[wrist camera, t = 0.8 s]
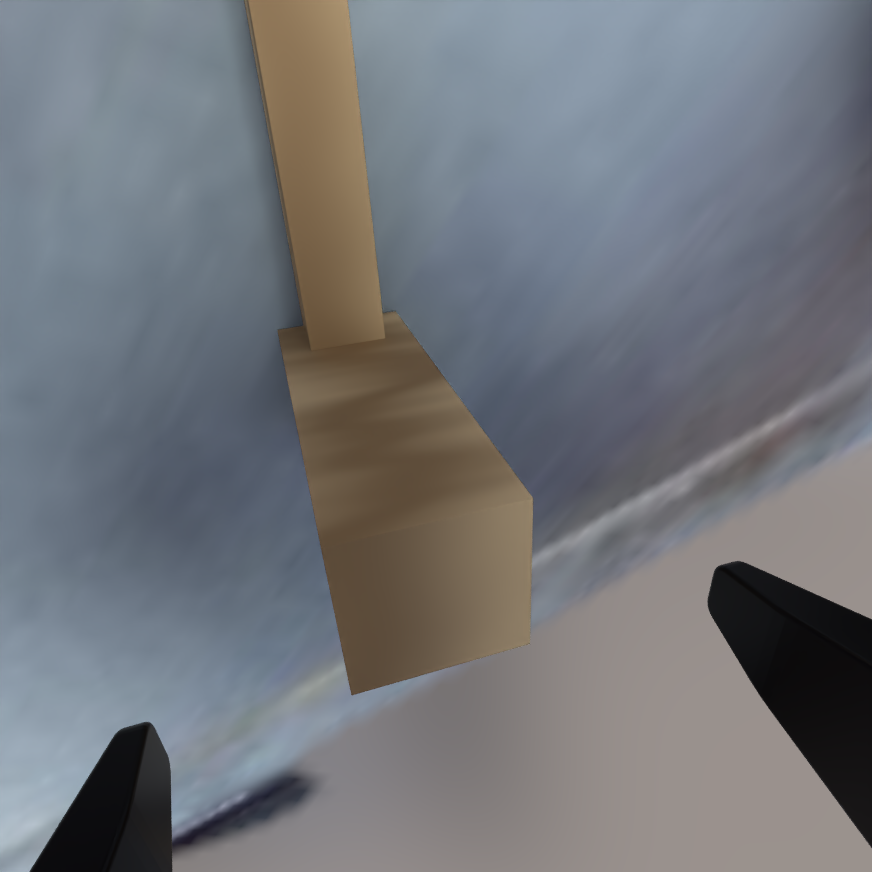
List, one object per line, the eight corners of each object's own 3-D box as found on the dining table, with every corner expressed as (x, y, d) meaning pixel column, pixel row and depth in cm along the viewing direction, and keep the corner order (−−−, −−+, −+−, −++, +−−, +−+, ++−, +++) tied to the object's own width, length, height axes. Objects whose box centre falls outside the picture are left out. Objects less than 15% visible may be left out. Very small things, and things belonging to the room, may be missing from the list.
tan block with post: (339, -248, 12) (563, -906, 4) (405, 413, 20) (530, 643, 12) (157, -254, 12) (-17, -1078, 3) (298, 434, 20) (351, 695, 11)
